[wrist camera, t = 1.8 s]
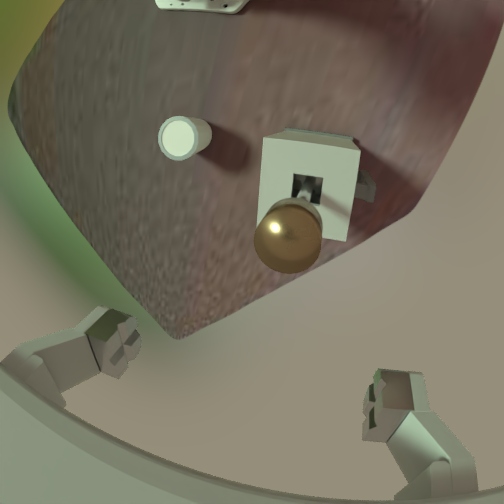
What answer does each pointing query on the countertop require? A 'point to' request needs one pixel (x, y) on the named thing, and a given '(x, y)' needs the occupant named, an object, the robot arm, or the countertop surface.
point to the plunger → (292, 228)
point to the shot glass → (184, 137)
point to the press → (315, 174)
